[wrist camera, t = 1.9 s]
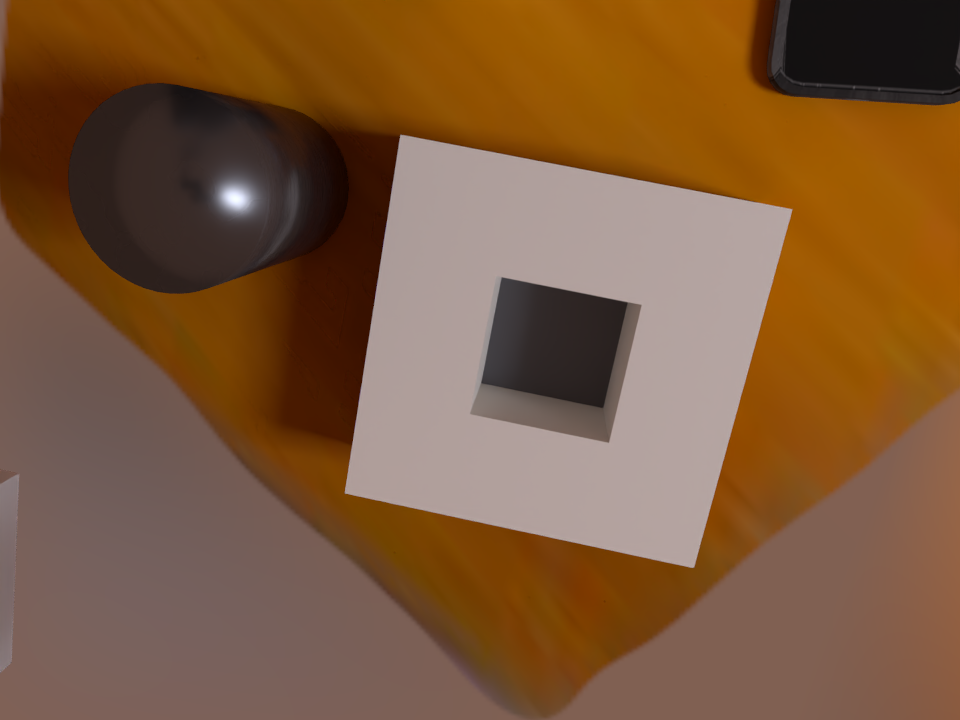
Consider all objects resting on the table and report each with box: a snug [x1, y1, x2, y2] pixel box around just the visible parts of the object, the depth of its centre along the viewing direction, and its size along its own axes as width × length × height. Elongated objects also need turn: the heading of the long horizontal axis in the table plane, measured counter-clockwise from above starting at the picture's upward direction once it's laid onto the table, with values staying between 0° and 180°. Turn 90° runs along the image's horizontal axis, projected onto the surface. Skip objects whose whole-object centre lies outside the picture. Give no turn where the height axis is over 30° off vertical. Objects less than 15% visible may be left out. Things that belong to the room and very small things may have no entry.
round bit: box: [68, 83, 349, 293], centre depth 30 cm, size 6×6×10 cm
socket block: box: [345, 135, 792, 568], centre depth 33 cm, size 14×14×5 cm
